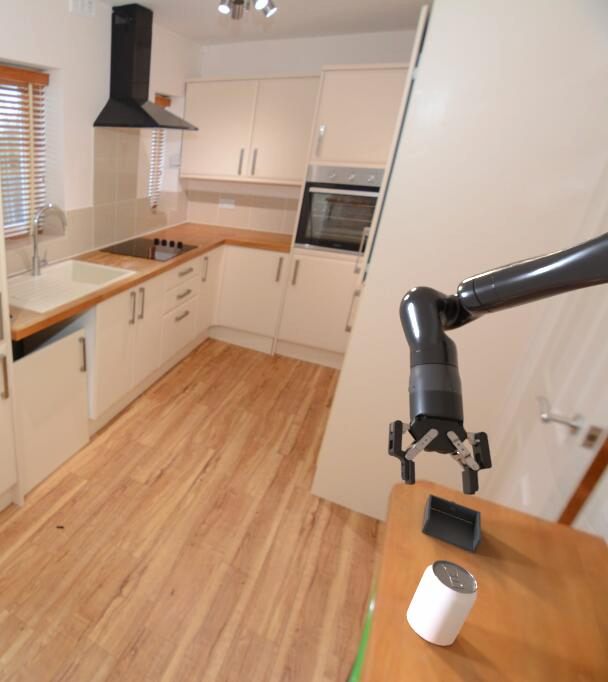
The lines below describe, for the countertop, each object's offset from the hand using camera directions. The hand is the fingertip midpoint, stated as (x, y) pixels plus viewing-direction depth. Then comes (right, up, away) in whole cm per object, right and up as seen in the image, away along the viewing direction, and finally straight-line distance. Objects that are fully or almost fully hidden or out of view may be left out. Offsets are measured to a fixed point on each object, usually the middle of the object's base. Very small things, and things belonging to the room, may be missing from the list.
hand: (439, 489), depth 75 cm
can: (-3, -22, -2) cm, 22 cm away
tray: (+14, -13, +16) cm, 25 cm away
